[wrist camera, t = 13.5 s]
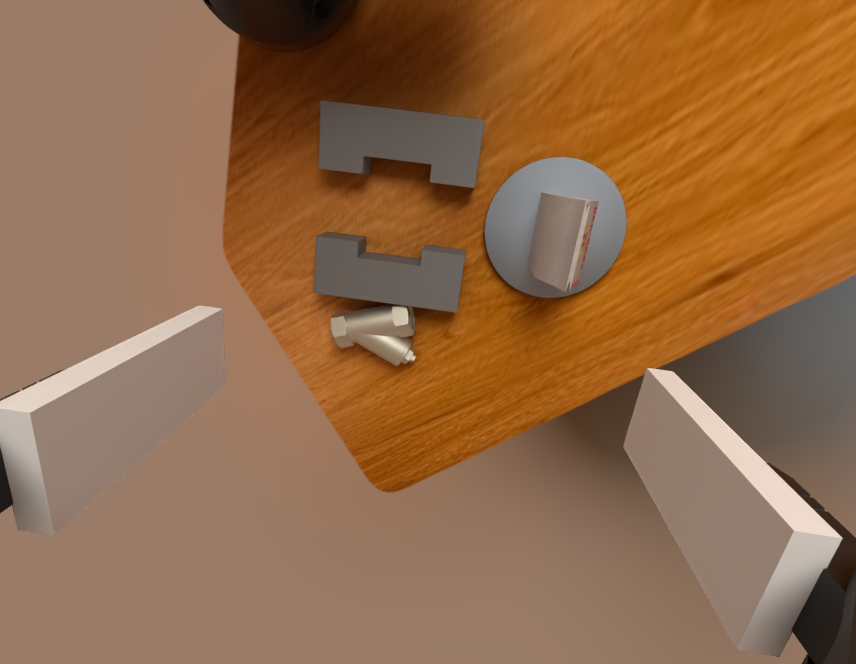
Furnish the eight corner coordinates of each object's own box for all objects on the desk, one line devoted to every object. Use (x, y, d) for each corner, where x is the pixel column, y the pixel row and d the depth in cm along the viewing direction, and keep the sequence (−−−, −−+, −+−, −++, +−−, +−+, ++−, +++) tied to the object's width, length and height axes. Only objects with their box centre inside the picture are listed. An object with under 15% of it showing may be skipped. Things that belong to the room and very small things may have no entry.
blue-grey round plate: (496, 149, 42) (497, 148, 41) (639, 166, 41) (642, 166, 40) (475, 286, 46) (475, 288, 45) (604, 303, 46) (606, 306, 45)
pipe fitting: (424, 352, 50) (409, 294, 47) (421, 368, 46) (405, 307, 44) (354, 363, 51) (337, 308, 49) (346, 381, 48) (327, 322, 45)
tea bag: (527, 264, 44) (542, 288, 35) (541, 192, 42) (561, 197, 33) (565, 269, 44) (590, 295, 35) (581, 197, 42) (613, 204, 32)
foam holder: (332, 106, 42) (320, 100, 39) (483, 123, 41) (484, 119, 38) (325, 284, 48) (314, 293, 44) (457, 303, 47) (456, 312, 44)
